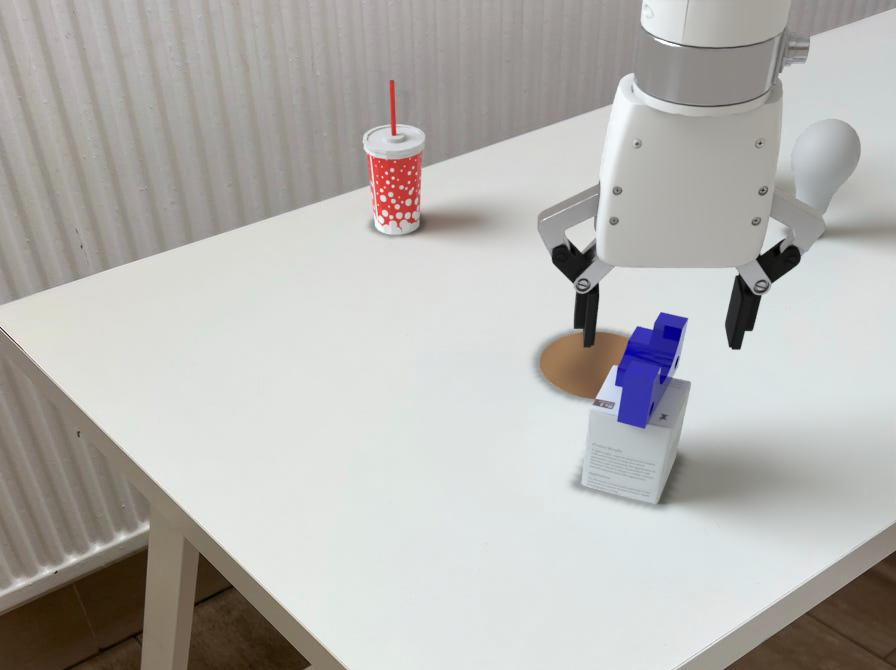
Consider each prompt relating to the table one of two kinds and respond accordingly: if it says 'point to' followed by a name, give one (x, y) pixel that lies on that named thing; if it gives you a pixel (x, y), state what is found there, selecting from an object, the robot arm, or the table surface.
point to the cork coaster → (582, 362)
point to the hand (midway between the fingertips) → (659, 337)
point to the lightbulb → (824, 161)
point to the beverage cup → (395, 173)
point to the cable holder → (649, 368)
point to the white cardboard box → (633, 443)
